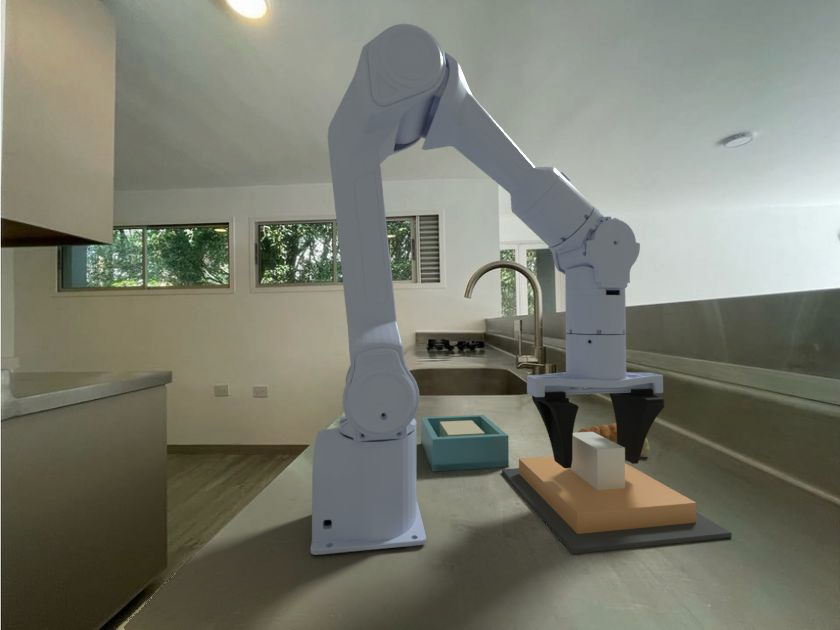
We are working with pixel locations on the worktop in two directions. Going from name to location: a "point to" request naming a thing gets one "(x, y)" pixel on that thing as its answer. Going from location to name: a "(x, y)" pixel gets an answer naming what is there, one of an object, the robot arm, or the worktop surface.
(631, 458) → the robot arm
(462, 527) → the worktop surface
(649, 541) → the mat
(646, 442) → the pastry
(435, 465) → the box
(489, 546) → the worktop surface
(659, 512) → the lid
